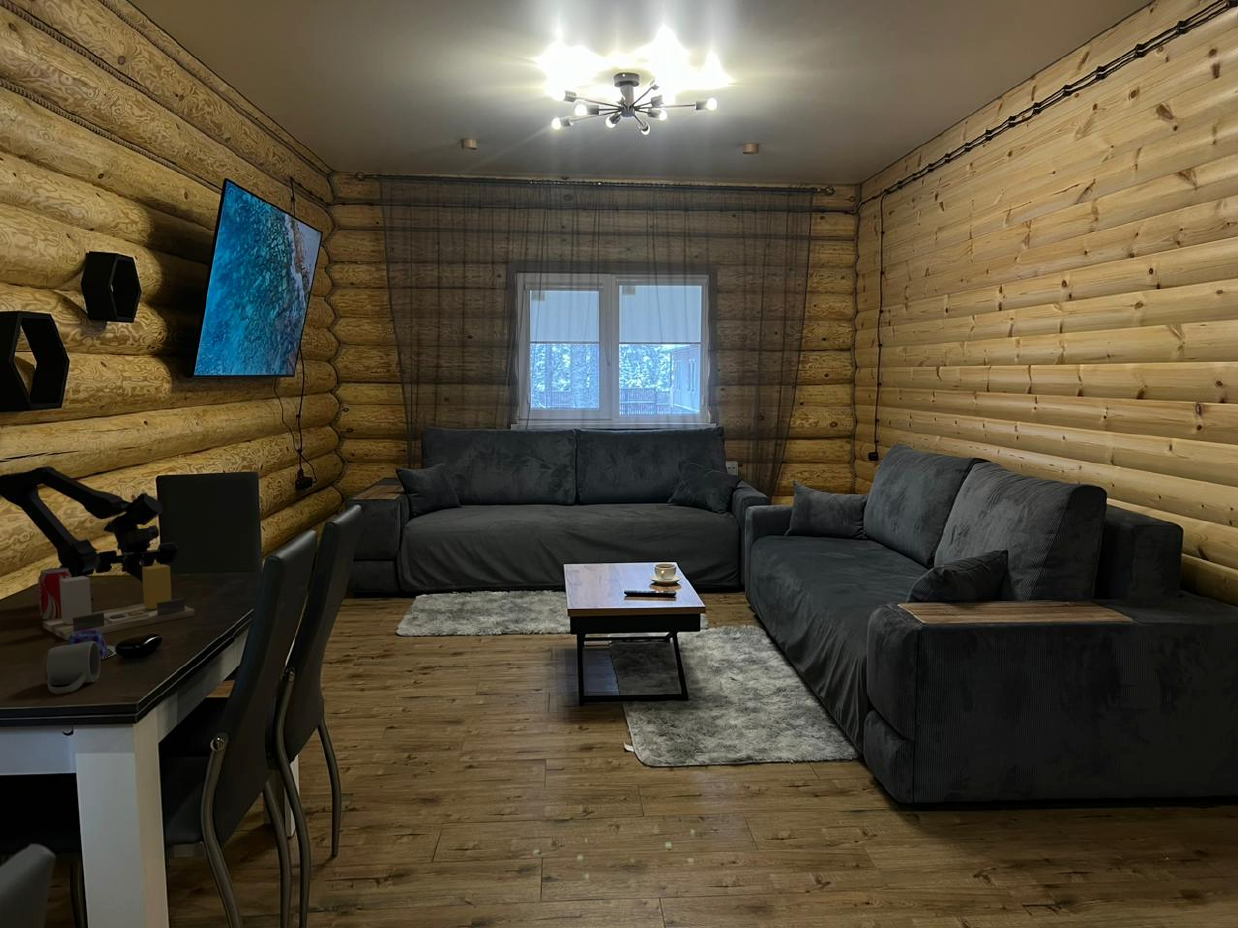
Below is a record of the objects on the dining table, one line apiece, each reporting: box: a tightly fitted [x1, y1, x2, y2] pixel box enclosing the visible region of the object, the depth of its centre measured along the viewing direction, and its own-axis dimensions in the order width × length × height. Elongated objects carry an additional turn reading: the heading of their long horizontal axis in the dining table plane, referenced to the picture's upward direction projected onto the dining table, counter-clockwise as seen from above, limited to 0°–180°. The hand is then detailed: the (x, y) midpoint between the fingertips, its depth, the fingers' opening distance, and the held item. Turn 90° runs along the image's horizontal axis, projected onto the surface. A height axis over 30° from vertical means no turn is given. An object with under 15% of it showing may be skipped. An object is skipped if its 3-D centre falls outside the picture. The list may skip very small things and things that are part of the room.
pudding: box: [66, 630, 117, 660], centre depth 182 cm, size 12×12×5 cm
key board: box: [42, 597, 195, 641], centre depth 209 cm, size 16×28×4 cm, turn 139°
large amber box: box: [142, 564, 173, 610], centre depth 216 cm, size 4×5×10 cm
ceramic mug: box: [42, 641, 101, 695], centre depth 164 cm, size 11×8×8 cm
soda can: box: [37, 567, 72, 621], centre depth 212 cm, size 7×7×12 cm
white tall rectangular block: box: [60, 576, 93, 625], centre depth 203 cm, size 4×5×10 cm
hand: (147, 583), depth 220 cm, fingers closed
